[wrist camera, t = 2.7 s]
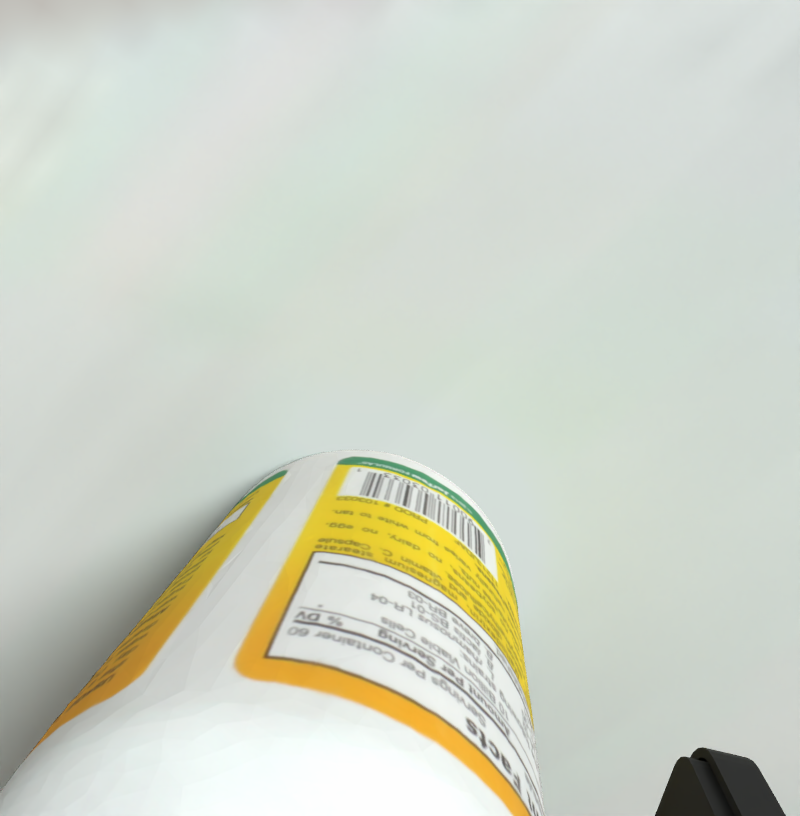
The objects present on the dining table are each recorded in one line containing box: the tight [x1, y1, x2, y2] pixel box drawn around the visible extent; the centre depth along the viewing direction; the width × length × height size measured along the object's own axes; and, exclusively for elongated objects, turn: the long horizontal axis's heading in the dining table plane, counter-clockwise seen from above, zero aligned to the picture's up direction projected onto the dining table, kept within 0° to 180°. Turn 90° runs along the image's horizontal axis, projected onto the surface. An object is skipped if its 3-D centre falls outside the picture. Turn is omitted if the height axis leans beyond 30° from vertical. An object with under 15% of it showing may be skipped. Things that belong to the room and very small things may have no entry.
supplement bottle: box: [0, 450, 545, 816], centre depth 8 cm, size 5×5×10 cm
